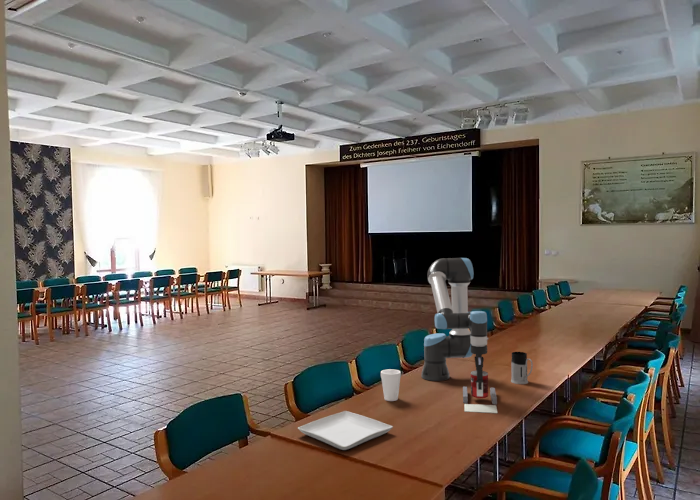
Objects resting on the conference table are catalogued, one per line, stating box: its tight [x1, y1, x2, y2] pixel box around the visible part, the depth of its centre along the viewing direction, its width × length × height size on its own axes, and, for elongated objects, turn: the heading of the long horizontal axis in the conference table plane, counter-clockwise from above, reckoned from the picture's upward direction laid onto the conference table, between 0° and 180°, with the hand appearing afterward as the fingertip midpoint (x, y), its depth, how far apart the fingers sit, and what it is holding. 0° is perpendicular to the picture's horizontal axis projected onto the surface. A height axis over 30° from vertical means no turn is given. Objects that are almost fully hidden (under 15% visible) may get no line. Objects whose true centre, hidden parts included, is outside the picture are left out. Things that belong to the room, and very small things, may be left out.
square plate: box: [297, 410, 394, 451], centre depth 205 cm, size 27×27×4 cm
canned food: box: [470, 370, 489, 399], centre depth 244 cm, size 8×8×11 cm
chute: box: [462, 386, 499, 414], centre depth 241 cm, size 15×28×3 cm, turn 168°
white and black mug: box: [510, 351, 534, 385], centre depth 271 cm, size 9×14×15 cm, turn 21°
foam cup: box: [380, 368, 402, 402], centre depth 249 cm, size 10×9×13 cm
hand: (479, 393), depth 244 cm, fingers closed on canned food, 8 cm apart
